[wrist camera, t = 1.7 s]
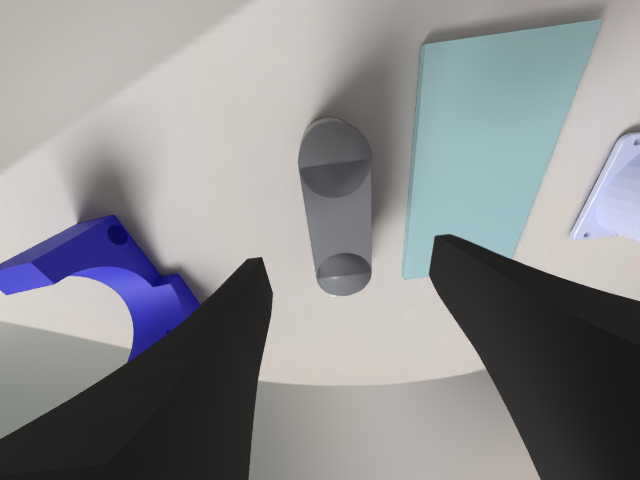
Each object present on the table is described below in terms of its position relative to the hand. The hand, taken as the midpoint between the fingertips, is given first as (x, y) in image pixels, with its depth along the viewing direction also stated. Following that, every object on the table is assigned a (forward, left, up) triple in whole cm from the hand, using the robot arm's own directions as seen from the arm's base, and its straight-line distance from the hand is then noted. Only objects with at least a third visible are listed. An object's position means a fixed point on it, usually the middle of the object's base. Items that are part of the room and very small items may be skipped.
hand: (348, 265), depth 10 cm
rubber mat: (-10, 0, -8) cm, 13 cm away
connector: (0, 0, -8) cm, 8 cm away
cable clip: (+16, +5, -8) cm, 19 cm away
